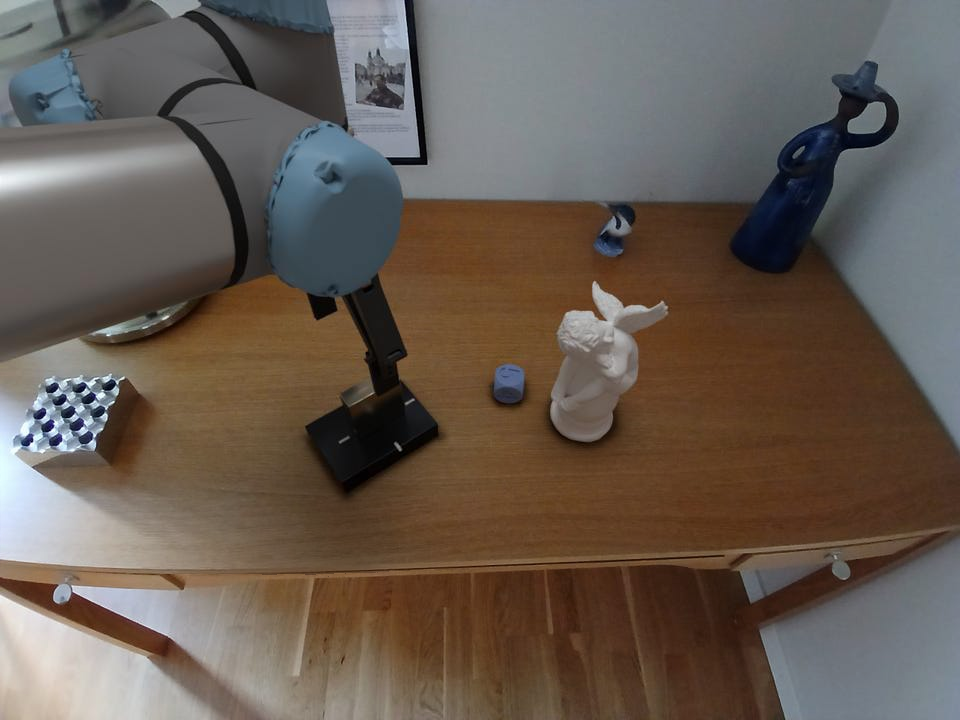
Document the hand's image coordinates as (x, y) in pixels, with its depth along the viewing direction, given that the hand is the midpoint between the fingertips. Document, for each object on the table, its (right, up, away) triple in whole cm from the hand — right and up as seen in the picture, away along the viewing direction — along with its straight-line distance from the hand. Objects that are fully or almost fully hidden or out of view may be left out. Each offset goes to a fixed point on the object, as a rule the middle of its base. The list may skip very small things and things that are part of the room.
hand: (355, 349), depth 62 cm
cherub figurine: (+28, -8, +16) cm, 34 cm away
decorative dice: (+18, -6, +18) cm, 26 cm away
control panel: (0, -11, +12) cm, 17 cm away
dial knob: (+1, -9, +10) cm, 14 cm away
